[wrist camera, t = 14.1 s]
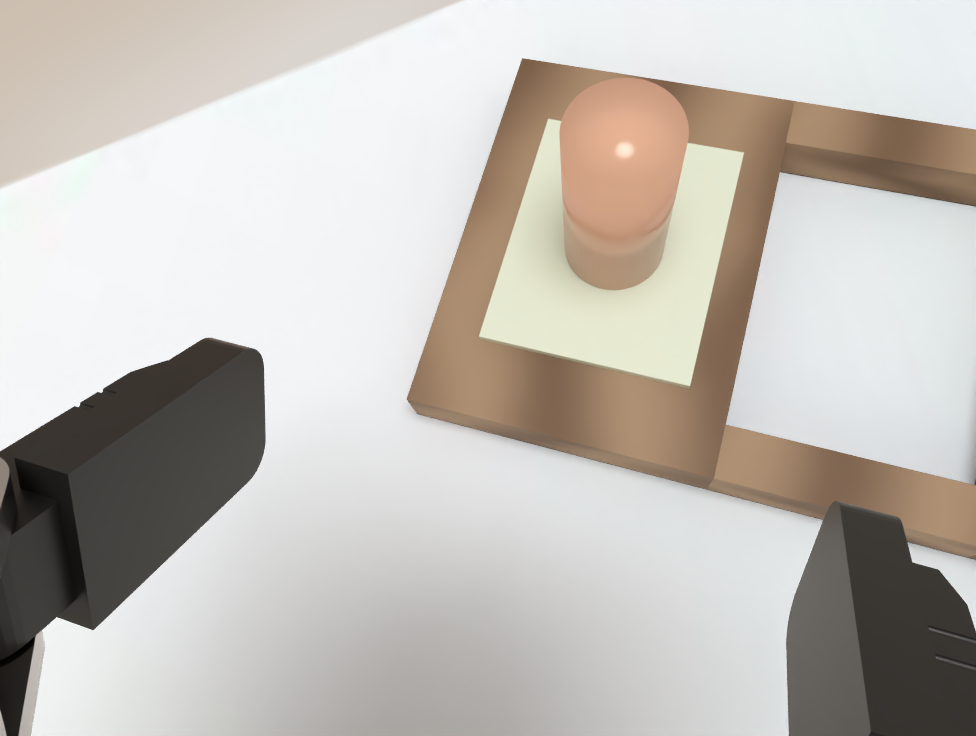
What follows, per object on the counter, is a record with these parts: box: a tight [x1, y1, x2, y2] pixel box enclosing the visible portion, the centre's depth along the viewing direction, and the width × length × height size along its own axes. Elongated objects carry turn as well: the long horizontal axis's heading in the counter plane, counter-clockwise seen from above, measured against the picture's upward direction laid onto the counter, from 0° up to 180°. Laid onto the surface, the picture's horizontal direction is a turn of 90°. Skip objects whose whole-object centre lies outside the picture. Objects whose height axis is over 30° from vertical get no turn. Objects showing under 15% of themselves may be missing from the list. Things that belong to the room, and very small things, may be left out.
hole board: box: [407, 58, 976, 559], centre depth 31 cm, size 24×16×2 cm, turn 73°
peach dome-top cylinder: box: [559, 78, 689, 290], centre depth 27 cm, size 4×4×8 cm
